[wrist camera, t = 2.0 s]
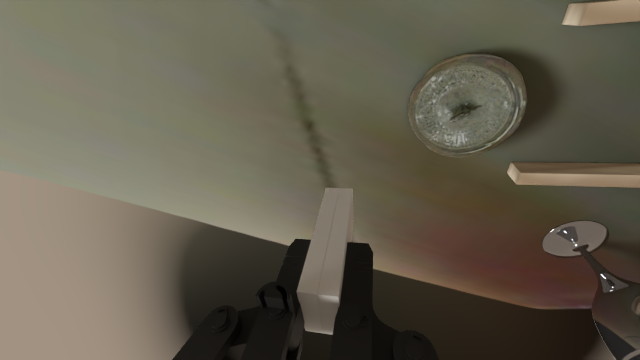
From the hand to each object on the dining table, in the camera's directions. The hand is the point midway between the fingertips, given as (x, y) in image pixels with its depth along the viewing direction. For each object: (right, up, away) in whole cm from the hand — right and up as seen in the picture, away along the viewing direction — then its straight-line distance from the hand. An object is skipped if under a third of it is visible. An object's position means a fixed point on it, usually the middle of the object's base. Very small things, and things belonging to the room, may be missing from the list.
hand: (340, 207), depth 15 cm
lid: (+14, +10, +13) cm, 21 cm away
